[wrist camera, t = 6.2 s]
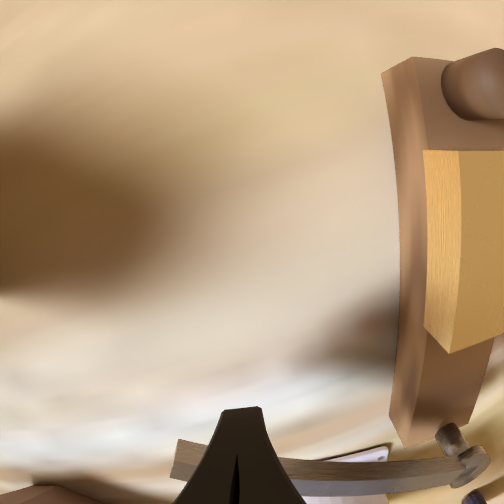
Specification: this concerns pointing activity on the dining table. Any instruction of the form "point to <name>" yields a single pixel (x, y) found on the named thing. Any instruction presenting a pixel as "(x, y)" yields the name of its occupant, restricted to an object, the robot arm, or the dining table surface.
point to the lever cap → (464, 246)
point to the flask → (474, 498)
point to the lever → (366, 469)
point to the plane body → (415, 227)
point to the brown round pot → (45, 496)
